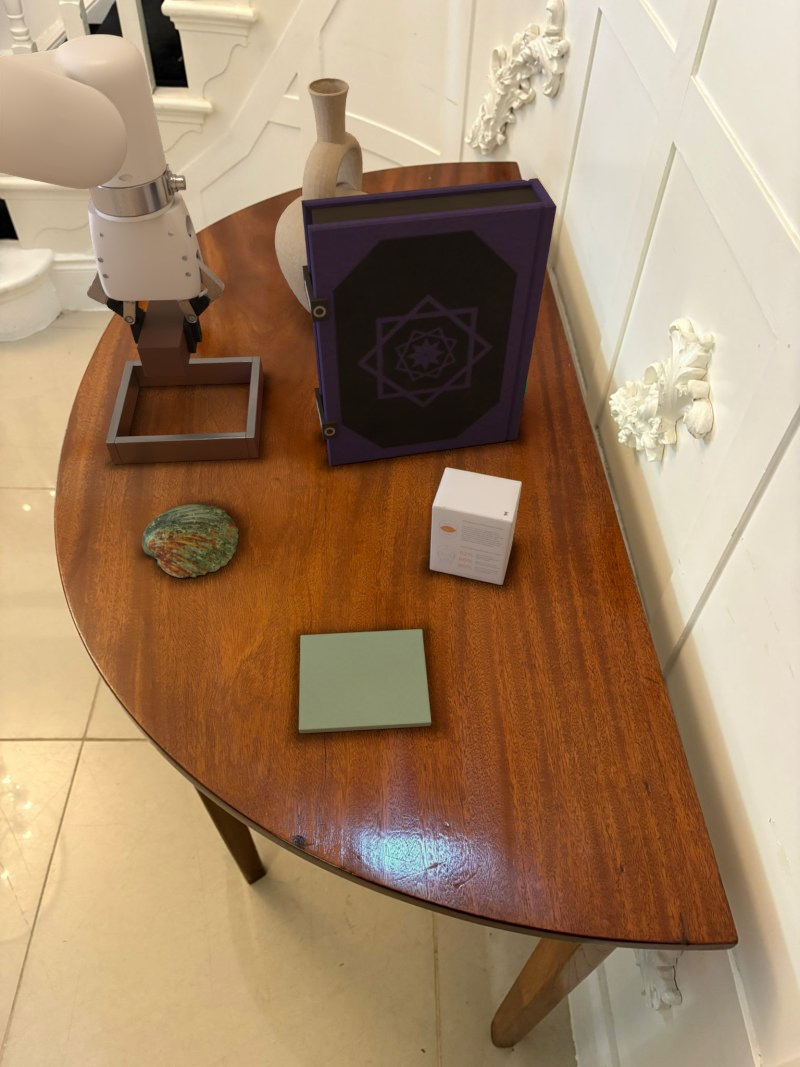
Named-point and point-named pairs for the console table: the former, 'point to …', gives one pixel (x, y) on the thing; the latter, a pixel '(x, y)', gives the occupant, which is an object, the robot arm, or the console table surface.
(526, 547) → the console table surface
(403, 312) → the book
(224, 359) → the rectangular frame
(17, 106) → the robot arm
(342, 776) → the console table surface
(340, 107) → the vase
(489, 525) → the small box
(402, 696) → the mat
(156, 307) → the brown rectangular block
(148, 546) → the seashell
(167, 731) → the console table surface
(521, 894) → the console table surface
